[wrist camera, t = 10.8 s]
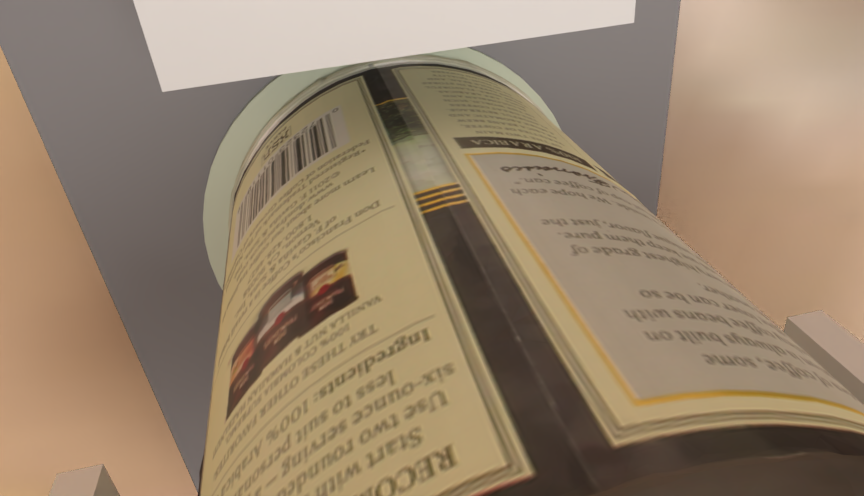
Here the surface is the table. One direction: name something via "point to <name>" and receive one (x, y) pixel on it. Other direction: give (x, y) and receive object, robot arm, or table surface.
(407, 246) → the coffee can
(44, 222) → the table surface
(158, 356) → the holder
